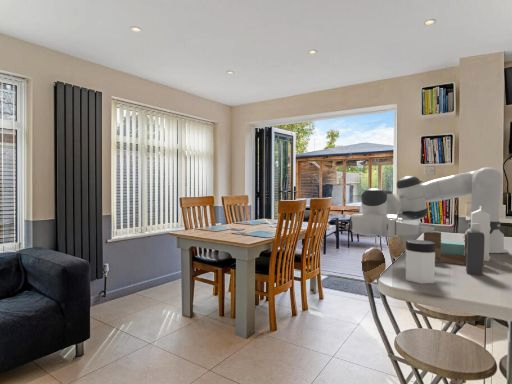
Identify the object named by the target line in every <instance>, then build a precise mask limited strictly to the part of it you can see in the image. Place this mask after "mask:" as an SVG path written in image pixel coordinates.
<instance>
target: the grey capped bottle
mask: <svg viewBox="0 0 512 384" xmlns="http://www.w3.org/2000/svg"><path fill="white" fill-rule="evenodd" d="M466 231H467V230H466ZM483 253H484V233H483V232H480V224H477V223H471V231H467V256H466V266H465V271H466V274H467V275H476V276H484V267H483Z"/></svg>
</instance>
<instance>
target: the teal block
mask: <svg viewBox="0 0 512 384" xmlns="http://www.w3.org/2000/svg"><path fill="white" fill-rule="evenodd" d="M464 243H465V242H464V241H453V240H445V239H444V240H442V239H441V253H443V254H452V255H462V256H464Z"/></svg>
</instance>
